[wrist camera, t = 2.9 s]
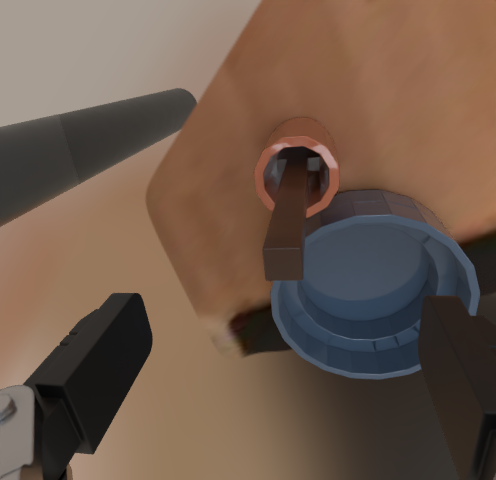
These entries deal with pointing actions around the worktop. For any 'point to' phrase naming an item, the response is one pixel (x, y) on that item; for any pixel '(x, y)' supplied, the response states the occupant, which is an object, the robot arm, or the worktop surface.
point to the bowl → (370, 284)
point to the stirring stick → (289, 216)
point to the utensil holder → (319, 182)
